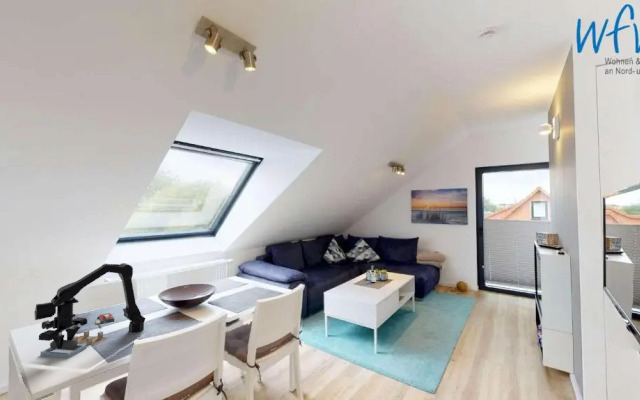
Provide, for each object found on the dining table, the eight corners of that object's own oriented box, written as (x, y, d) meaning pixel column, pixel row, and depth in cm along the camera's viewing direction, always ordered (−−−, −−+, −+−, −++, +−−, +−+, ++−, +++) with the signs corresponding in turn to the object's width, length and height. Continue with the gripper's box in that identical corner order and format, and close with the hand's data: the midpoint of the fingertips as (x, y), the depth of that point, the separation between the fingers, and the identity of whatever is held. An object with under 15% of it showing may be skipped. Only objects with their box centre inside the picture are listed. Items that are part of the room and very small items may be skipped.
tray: (86, 350, 139) (86, 345, 139) (68, 360, 130) (69, 354, 130) (59, 348, 140) (59, 342, 140) (40, 358, 132) (40, 352, 132)
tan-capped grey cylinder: (77, 347, 137) (77, 339, 137) (69, 351, 133) (69, 343, 133) (56, 345, 138) (56, 337, 138) (47, 350, 134) (48, 341, 134)
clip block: (108, 340, 150) (108, 332, 150) (95, 347, 142) (95, 339, 142) (80, 337, 152) (81, 330, 152) (66, 345, 144) (66, 337, 144)
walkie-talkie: (93, 320, 174) (98, 331, 160) (93, 313, 174) (98, 324, 160) (110, 316, 180) (117, 327, 166) (110, 309, 180) (117, 319, 166)
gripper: (68, 305, 146) (67, 336, 146) (28, 320, 127) (27, 355, 127) (88, 306, 145) (87, 337, 144) (50, 322, 126) (49, 357, 126)
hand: (64, 346), depth 135 cm, fingers closed on tan-capped grey cylinder, 4 cm apart
